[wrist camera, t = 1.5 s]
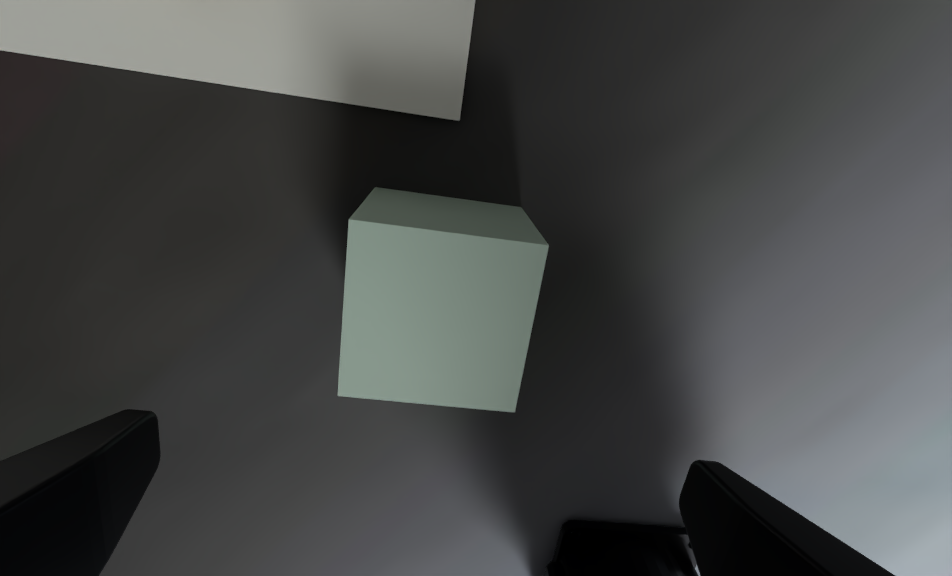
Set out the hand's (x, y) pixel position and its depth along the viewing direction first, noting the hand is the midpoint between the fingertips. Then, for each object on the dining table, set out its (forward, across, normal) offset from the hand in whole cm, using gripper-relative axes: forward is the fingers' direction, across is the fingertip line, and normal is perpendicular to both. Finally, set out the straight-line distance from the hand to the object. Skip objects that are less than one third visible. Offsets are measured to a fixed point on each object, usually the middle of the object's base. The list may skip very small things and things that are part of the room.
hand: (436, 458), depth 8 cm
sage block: (+10, 0, 0) cm, 10 cm away
